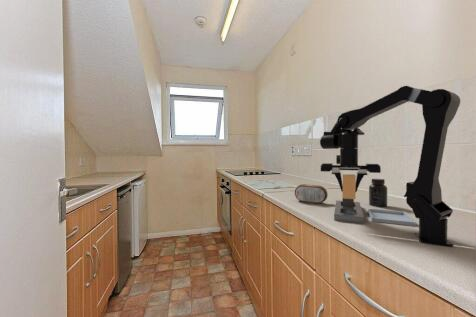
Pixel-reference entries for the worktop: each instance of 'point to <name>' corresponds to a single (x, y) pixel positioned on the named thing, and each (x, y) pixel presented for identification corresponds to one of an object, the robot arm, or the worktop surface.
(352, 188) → the orange block
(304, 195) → the portable speaker
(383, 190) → the supplement bottle
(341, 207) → the grey slotted frame
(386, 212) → the tray
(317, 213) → the worktop surface
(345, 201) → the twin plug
